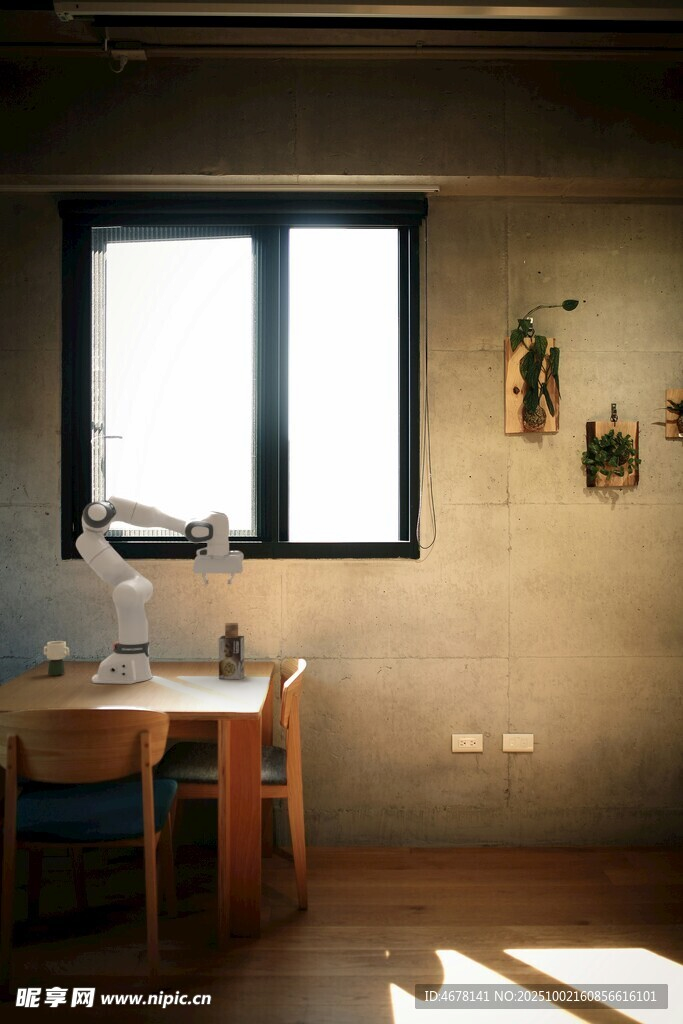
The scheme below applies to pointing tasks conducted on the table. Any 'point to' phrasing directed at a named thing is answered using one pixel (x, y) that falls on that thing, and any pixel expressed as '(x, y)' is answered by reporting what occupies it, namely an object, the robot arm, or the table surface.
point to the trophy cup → (56, 656)
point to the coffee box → (231, 657)
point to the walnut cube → (231, 630)
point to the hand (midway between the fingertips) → (218, 584)
